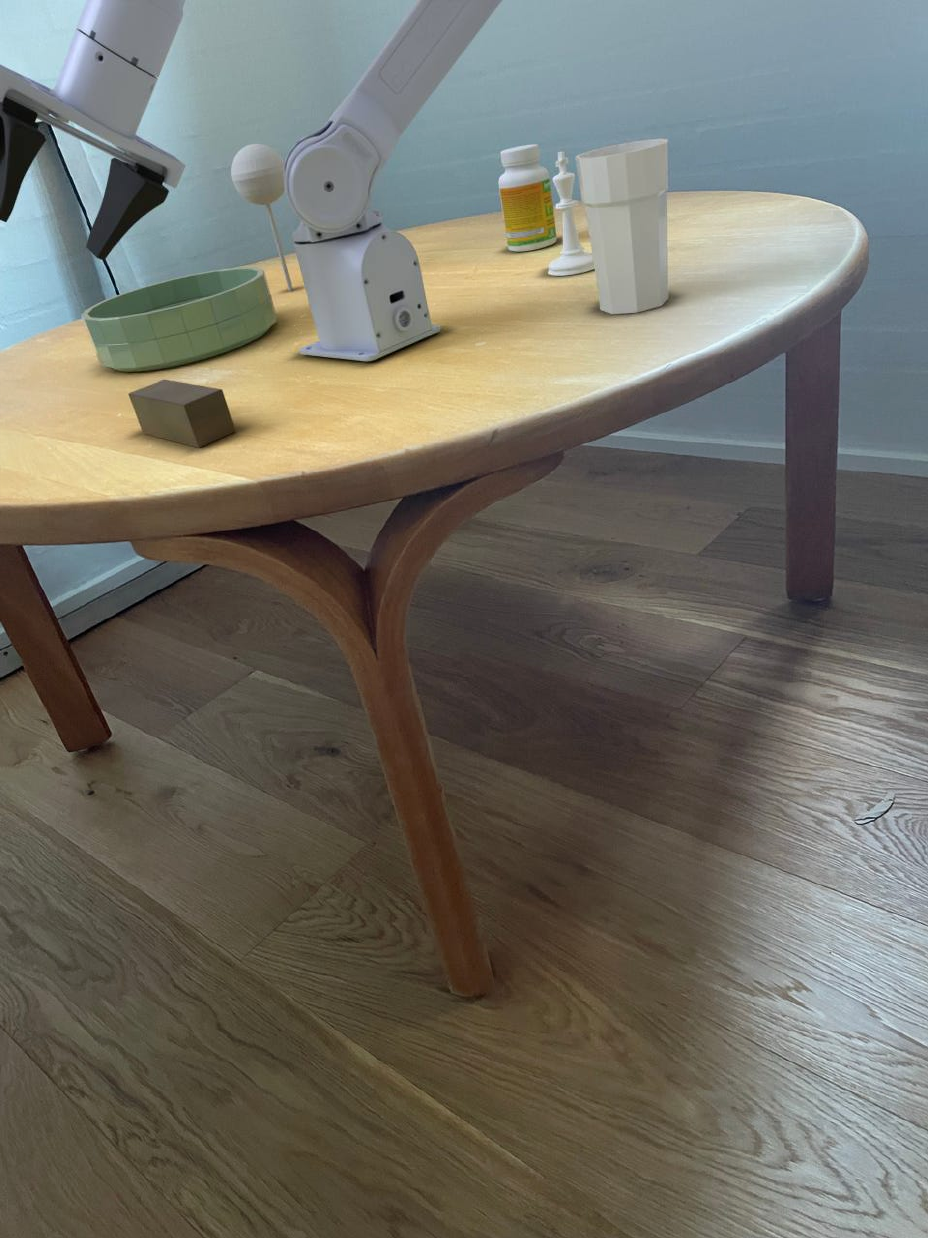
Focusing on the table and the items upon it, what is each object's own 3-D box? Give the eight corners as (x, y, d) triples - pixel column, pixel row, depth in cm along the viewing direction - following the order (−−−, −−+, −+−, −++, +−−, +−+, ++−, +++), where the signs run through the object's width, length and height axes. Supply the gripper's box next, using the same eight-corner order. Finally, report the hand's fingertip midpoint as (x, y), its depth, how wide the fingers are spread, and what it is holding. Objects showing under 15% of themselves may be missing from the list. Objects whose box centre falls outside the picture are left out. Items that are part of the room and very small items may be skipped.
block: (236, 431, 62) (222, 388, 60) (199, 448, 60) (183, 404, 59) (178, 418, 67) (164, 378, 66) (142, 433, 66) (127, 393, 64)
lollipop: (305, 293, 100) (265, 142, 93) (257, 300, 102) (213, 152, 94) (323, 279, 105) (287, 135, 98) (277, 287, 107) (238, 145, 99)
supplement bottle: (559, 245, 97) (546, 144, 92) (508, 255, 97) (493, 155, 92) (555, 237, 101) (543, 140, 96) (507, 246, 102) (493, 150, 97)
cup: (640, 319, 67) (626, 155, 62) (574, 314, 72) (556, 161, 66) (695, 293, 71) (687, 135, 65) (629, 290, 75) (616, 142, 70)
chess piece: (609, 260, 86) (597, 143, 81) (586, 274, 83) (572, 153, 78) (563, 263, 89) (549, 150, 84) (539, 277, 86) (523, 160, 80)
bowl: (312, 320, 88) (298, 266, 85) (156, 381, 78) (135, 323, 76) (219, 314, 99) (204, 266, 96) (73, 367, 90) (52, 315, 87)
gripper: (179, 87, 71) (113, 248, 76) (-9, -25, 60) (-73, 173, 64) (223, 119, 68) (151, 285, 73) (33, 5, 56) (-39, 212, 61)
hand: (48, 235), depth 68 cm, fingers open, 7 cm apart
